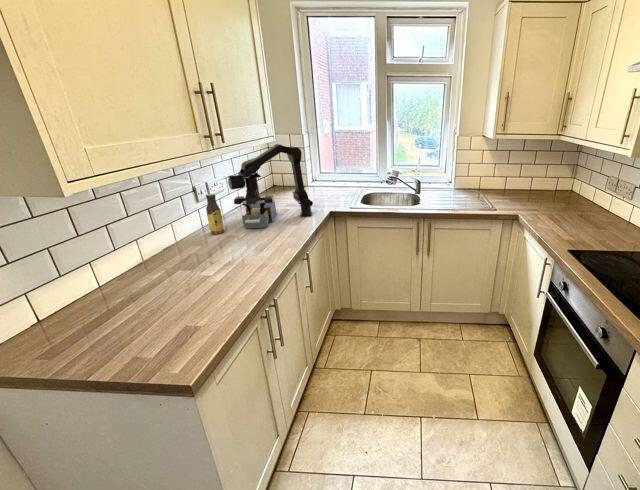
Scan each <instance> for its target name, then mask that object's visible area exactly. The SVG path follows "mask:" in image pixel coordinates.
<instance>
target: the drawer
mask: <svg viewBox="0 0 640 490" xmlns="http://www.w3.org/2000/svg"><path fill="white" fill-rule="evenodd" d="M241 217H242V223H243V224H242V225H243V229H257V228H258V229H261V228H268V227H269V223H270V222H269V220H270V214H269V209H263V214H262V215H251V213H250V212H249V210H248V212H247V213H246V212H245V214H243V215H242V216H241Z"/></svg>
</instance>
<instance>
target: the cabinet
mask: <svg viewBox="0 0 640 490" xmlns="http://www.w3.org/2000/svg"><path fill="white" fill-rule="evenodd" d="M260 203H261V202H260V201H257V203H256V204H251V206H252V209H253V208H260ZM264 209H269V214H270V220H269V222H268V223H273V222H274V220H275V218H276V217H277V208H276V200H275V199H274V201H273V203H267V204H265V206H264ZM247 212H248V209H247V207H246V206H245V214H246V213H247Z"/></svg>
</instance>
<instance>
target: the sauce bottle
mask: <svg viewBox="0 0 640 490" xmlns="http://www.w3.org/2000/svg"><path fill="white" fill-rule="evenodd" d="M216 197H217V196H216V194H215V193H206V194H205V198H206V202H207V204H206V207H205V211H206V217H207V221H208V227H209V231H210V234H212V235H219V234H223V233H224V232H225V226H224V220H223V214H222V210H221V208H220V206H219V204H218V203H217V199H216Z"/></svg>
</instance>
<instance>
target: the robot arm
mask: <svg viewBox="0 0 640 490" xmlns="http://www.w3.org/2000/svg"><path fill="white" fill-rule="evenodd" d="M281 153H283V154H286V156H287V158H288V160H289V162H290V165H291V168H292V175H293V181H294V186H295V187H294V190H293V191H292V195H293V199H294V200H295V202H297V203H298V205H299V206H300V217H312V216H313V211H312V207H313V204H314V202H313V201H312V200H311V199H310V198H309V195H308V192H307V191H306V189H305V184H304V179H303V172H302V166H301V163H302V155H303V154H302V150H301V148H300V147H297V146H293V145H290V146H286V145H282V144H280V143H276V144H274V145H273V146H272V147H270V148H269V149H267V150H265V151H264V152H262V153H261V154H259V155H258V156H256V157H254V158H253V157H252V158H251V159H247V160H245V161H243V162H242V163H241V168H240V170H239V172H238V173H237V174H235V175H231V174H230V175H228V178H227V179H228V180H227V184H228V187H229V189H230V190H231V191H233V190H238V189H244V188H245V189H246V192H245V193H246V194H245V196H244V195H242V196H236V197H235V198H234V199H233V204H234V205H242V206H244V207H245V208H246V207H247V209H248V210H249V212H250V213H251V210H252V206H251V204H256V203H257V201H260V202H261V203H260V209H261V215H262V214H263V209H264V206H265V204H267V203H273V201H274V200H275V196H274V195H273V194H271V195H270V194H269V195H265V196H264V197H263V196H262V197H261V194H260V187H259V183H258V182H259V181H258V178H261V177H262V175H260V174H259V173H258V171H259V170H260V169H261V167H262V166H263V165H265V164H266V163H267V162H268V161H270V160H271V159H274V158H275V157H276V156H277V155H279V154H281Z"/></svg>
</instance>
